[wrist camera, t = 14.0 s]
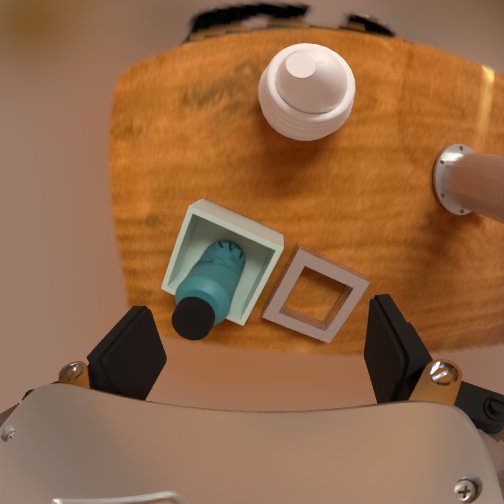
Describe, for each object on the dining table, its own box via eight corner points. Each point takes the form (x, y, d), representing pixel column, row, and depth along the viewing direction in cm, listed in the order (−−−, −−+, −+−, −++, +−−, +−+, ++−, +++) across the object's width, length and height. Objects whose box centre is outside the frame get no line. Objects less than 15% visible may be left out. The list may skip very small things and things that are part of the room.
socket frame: (364, 275, 44) (369, 282, 41) (326, 333, 48) (329, 343, 45) (297, 242, 43) (299, 248, 40) (263, 308, 47) (262, 317, 44)
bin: (282, 234, 43) (283, 247, 36) (248, 303, 47) (243, 325, 40) (203, 198, 42) (189, 205, 35) (176, 271, 46) (161, 288, 40)
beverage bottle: (256, 258, 43) (239, 332, 24) (225, 281, 45) (191, 361, 26) (228, 226, 42) (189, 281, 23) (198, 252, 44) (145, 317, 25)
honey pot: (279, 153, 39) (281, 146, 22) (246, 79, 35) (225, 28, 18) (357, 126, 36) (409, 107, 19) (324, 54, 33) (350, -3, 16)
